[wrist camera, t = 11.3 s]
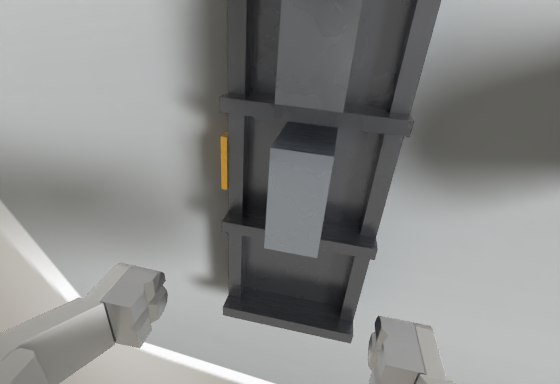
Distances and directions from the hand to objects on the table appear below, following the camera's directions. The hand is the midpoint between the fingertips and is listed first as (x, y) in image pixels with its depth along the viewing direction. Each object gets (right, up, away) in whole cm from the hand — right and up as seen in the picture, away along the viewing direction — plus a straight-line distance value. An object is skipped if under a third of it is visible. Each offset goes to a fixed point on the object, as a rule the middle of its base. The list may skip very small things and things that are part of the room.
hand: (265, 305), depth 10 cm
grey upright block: (+2, +5, +10) cm, 12 cm away
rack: (+3, +6, +11) cm, 13 cm away
